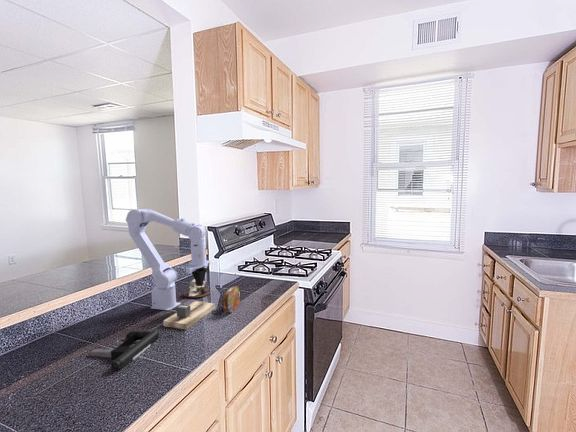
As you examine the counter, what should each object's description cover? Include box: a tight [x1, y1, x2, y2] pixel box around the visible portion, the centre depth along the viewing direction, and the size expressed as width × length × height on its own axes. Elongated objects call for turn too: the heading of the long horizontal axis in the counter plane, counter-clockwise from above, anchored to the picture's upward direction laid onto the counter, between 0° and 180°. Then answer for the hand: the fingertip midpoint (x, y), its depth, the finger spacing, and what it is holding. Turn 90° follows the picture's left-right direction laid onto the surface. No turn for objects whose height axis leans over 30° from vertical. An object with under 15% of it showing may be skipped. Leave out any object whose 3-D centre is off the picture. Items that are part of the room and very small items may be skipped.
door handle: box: [89, 329, 160, 371], centre depth 98 cm, size 3×20×16 cm
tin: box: [222, 285, 242, 313], centre depth 130 cm, size 15×3×8 cm, turn 168°
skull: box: [183, 279, 211, 299], centre depth 148 cm, size 12×10×10 cm
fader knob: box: [175, 304, 191, 318], centre depth 118 cm, size 4×3×4 cm
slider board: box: [163, 301, 216, 330], centre depth 123 cm, size 10×20×2 cm, turn 163°
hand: (199, 285), depth 132 cm, fingers closed
